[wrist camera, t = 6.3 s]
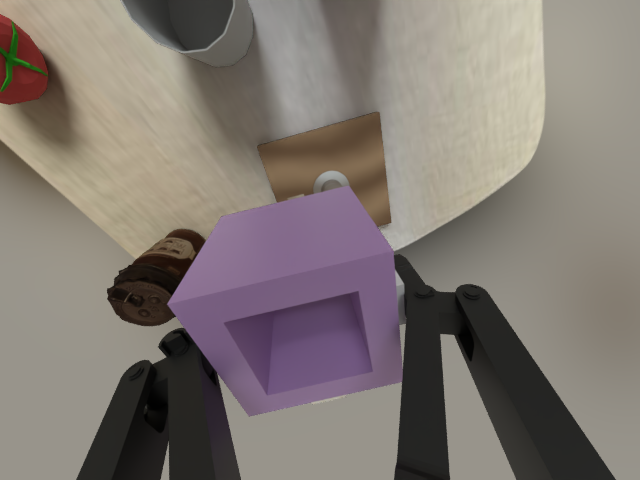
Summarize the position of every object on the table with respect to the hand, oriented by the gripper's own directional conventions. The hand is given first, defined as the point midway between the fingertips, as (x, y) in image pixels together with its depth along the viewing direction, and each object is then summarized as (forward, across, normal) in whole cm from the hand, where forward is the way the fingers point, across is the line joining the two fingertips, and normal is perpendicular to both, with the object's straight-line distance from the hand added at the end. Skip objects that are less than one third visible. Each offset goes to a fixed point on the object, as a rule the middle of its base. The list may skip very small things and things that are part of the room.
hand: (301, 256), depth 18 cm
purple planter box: (0, 0, 0) cm, 0 cm away
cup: (+20, -4, +19) cm, 28 cm away
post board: (+20, +4, -2) cm, 21 cm away
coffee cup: (+20, -19, -6) cm, 29 cm away
